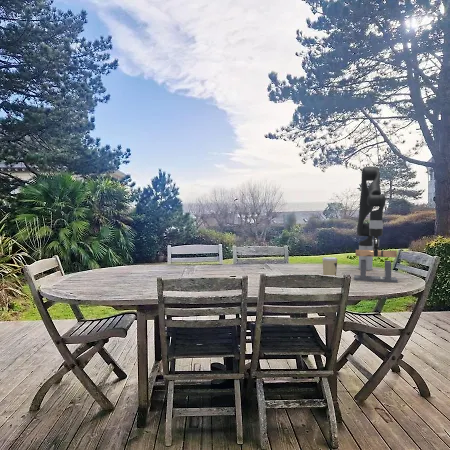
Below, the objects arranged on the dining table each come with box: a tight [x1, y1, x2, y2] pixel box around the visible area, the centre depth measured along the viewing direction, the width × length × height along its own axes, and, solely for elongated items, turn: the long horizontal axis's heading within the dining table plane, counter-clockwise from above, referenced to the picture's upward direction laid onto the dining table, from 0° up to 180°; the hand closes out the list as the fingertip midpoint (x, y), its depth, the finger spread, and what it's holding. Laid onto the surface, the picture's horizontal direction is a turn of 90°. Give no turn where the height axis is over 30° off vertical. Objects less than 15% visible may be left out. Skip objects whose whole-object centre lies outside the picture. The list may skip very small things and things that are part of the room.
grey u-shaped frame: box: [353, 260, 399, 284], centre depth 230 cm, size 10×24×12 cm, turn 70°
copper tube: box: [355, 249, 398, 258], centre depth 230 cm, size 23×4×4 cm, turn 70°
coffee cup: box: [321, 256, 338, 277], centre depth 242 cm, size 9×9×12 cm
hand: (375, 256), depth 230 cm, fingers closed on copper tube, 4 cm apart
